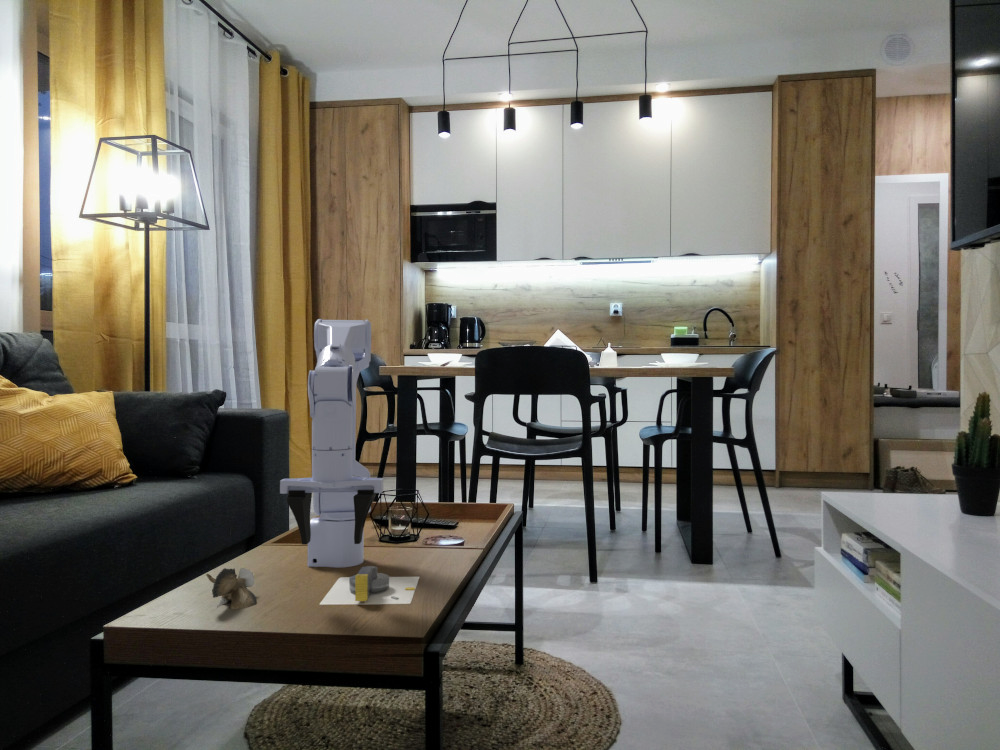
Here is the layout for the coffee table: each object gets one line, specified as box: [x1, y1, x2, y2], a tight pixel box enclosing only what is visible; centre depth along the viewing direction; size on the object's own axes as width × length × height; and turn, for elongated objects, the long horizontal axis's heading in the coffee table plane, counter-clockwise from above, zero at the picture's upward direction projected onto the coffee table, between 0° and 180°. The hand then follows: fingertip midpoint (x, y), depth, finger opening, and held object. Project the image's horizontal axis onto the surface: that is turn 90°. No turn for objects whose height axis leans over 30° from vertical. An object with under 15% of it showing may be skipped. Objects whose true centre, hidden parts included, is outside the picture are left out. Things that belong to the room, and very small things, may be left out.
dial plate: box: [318, 576, 420, 606], centre depth 106 cm, size 13×14×1 cm
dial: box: [349, 565, 390, 601], centre depth 104 cm, size 10×6×4 cm, turn 1°
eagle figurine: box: [205, 567, 258, 610], centre depth 100 cm, size 8×7×9 cm
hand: (332, 542), depth 100 cm, fingers open, 7 cm apart
